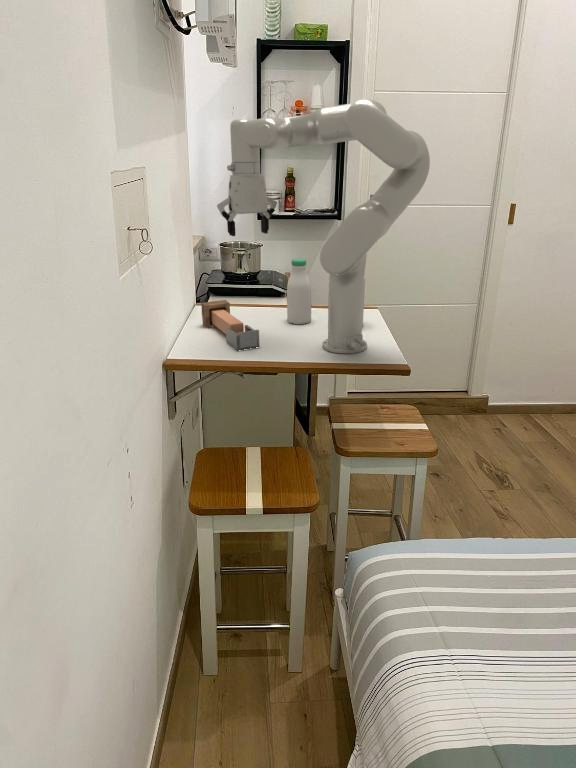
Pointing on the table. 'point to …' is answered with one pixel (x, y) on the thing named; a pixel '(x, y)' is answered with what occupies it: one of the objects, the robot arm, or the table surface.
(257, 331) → the channel
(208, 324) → the socket
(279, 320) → the table surface
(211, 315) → the bar
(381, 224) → the robot arm
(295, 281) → the milk bottle
